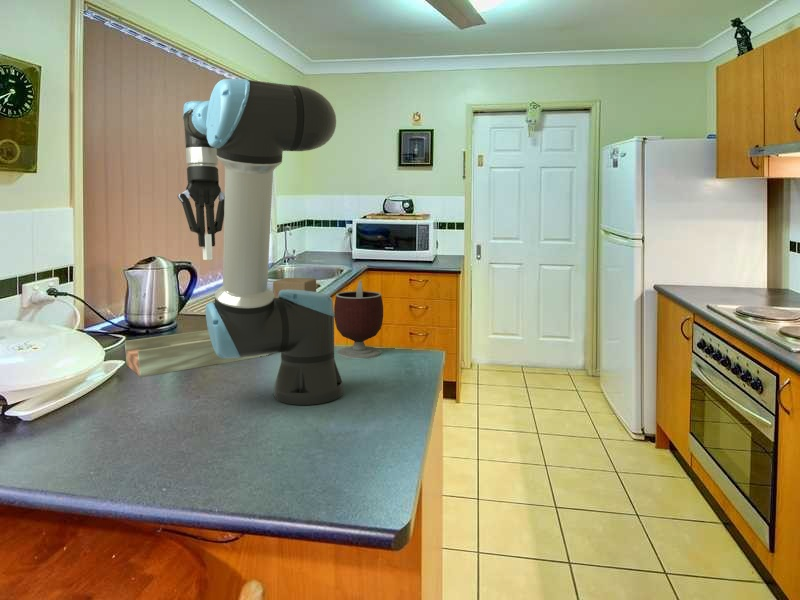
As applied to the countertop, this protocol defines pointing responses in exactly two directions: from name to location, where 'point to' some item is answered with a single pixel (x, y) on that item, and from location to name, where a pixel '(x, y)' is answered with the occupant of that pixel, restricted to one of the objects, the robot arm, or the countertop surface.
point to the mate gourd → (358, 320)
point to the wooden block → (294, 285)
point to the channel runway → (173, 353)
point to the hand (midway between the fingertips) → (207, 259)
